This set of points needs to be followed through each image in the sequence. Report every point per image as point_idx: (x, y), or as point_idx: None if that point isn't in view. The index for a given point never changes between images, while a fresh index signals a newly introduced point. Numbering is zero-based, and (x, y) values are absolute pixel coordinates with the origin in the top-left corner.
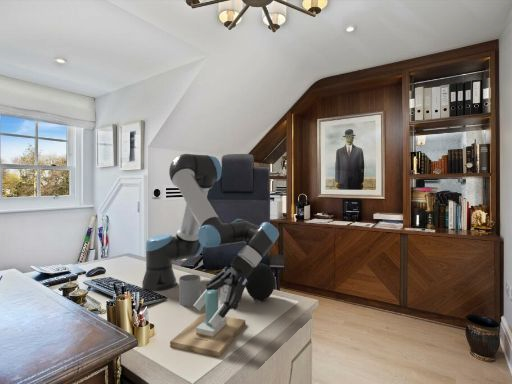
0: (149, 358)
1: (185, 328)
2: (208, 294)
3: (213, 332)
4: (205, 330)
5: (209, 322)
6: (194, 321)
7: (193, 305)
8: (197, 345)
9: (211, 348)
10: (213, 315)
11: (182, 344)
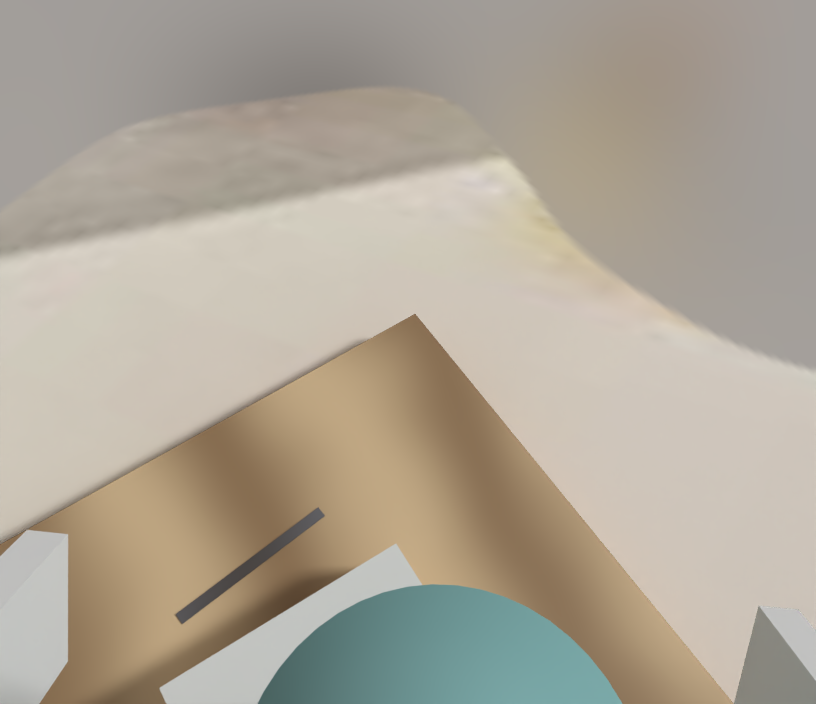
0: (345, 184)
1: (585, 523)
2: (342, 612)
3: (166, 699)
4: (271, 623)
5: (30, 532)
6: (716, 695)
7: (788, 610)
8: (171, 479)
9: None
10: (8, 603)
11: (298, 380)
